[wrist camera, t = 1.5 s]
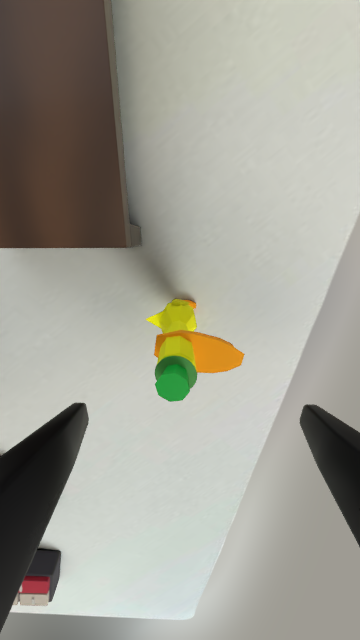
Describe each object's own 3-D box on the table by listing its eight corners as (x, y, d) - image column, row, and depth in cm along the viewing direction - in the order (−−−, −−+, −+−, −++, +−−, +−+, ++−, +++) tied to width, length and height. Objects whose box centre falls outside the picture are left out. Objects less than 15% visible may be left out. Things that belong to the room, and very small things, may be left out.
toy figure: (223, 297, 20) (276, 370, 9) (215, 330, 21) (252, 430, 10) (154, 286, 20) (119, 348, 8) (150, 320, 21) (115, 413, 10)
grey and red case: (49, 609, 38) (-41, 607, 36) (61, 573, 42) (-20, 570, 40) (50, 582, 34) (-51, 579, 32) (62, 546, 38) (-27, 541, 36)
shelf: (7, 245, 18) (-60, 248, 13) (-90, -88, 12) (-297, -339, 7) (141, 245, 18) (126, 247, 13) (119, -89, 12) (72, -344, 7)
